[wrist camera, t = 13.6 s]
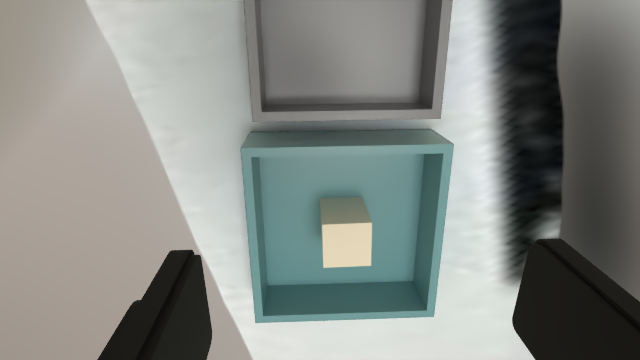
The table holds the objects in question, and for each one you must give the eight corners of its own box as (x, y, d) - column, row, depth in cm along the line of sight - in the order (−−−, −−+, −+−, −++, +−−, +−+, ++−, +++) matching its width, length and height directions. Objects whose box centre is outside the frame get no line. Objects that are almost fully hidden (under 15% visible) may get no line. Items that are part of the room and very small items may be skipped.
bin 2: (250, 132, 37) (240, 148, 31) (431, 129, 37) (453, 144, 32) (261, 286, 43) (255, 322, 37) (417, 281, 44) (433, 316, 38)
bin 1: (248, -56, 31) (238, -74, 27) (437, -56, 32) (459, -74, 27) (259, 111, 36) (252, 121, 31) (423, 109, 37) (440, 118, 32)
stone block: (319, 198, 38) (322, 224, 33) (362, 196, 38) (372, 222, 33) (320, 236, 40) (323, 267, 34) (361, 234, 40) (371, 265, 34)
